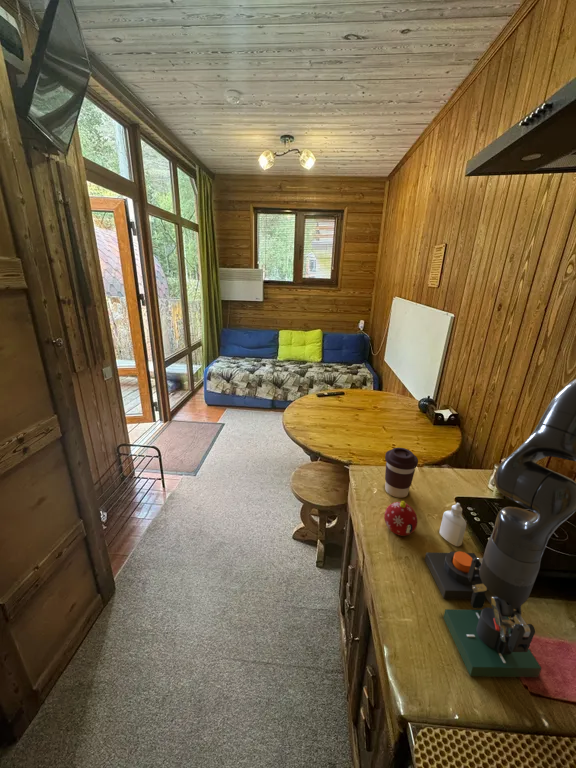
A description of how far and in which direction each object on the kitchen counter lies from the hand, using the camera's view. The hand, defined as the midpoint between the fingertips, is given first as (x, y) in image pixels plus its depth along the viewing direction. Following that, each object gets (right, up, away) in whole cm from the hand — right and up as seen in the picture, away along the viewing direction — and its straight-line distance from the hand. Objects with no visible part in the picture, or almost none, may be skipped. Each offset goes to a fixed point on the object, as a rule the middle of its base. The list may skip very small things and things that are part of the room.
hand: (488, 627), depth 59 cm
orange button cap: (+1, +5, +11) cm, 13 cm away
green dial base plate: (-1, -4, 0) cm, 4 cm away
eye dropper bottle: (+6, +4, +24) cm, 25 cm away
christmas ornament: (-7, +5, +27) cm, 29 cm away
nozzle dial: (-1, -1, -1) cm, 2 cm away
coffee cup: (-2, +11, +43) cm, 45 cm away
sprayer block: (+1, +1, +13) cm, 13 cm away
